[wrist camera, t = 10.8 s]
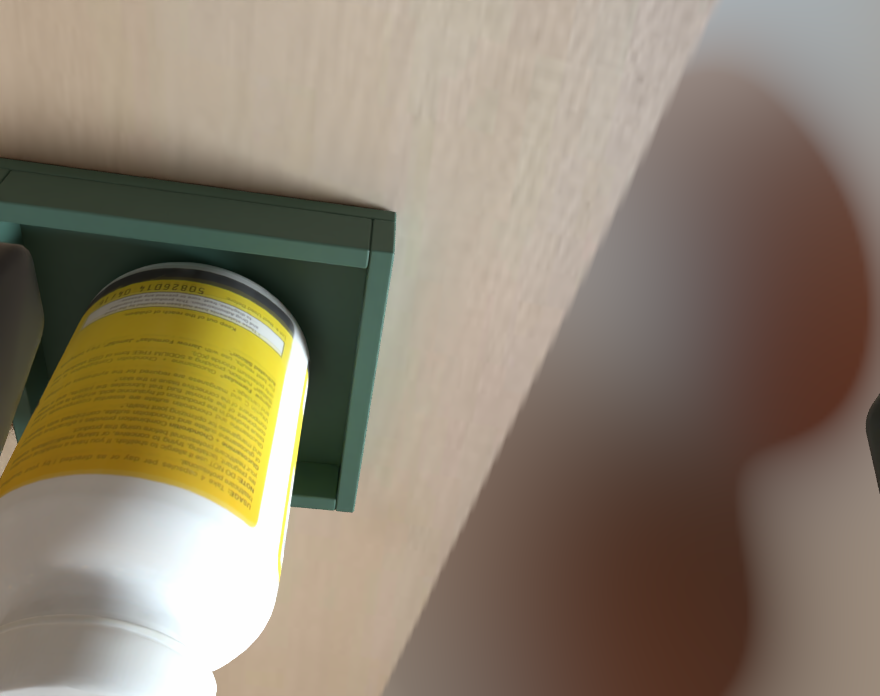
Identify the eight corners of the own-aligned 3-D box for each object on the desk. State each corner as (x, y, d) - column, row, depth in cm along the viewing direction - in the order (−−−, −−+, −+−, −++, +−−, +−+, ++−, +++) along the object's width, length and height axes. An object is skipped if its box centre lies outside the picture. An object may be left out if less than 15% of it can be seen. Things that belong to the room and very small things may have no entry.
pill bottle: (70, 239, 22) (-176, 644, 13) (317, 262, 22) (246, 665, 13) (104, 414, 26) (-65, 812, 17) (311, 430, 26) (254, 823, 18)
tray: (396, 211, 22) (394, 253, 20) (357, 467, 28) (353, 513, 27) (-7, 155, 21) (-41, 195, 19) (48, 436, 27) (25, 482, 26)
